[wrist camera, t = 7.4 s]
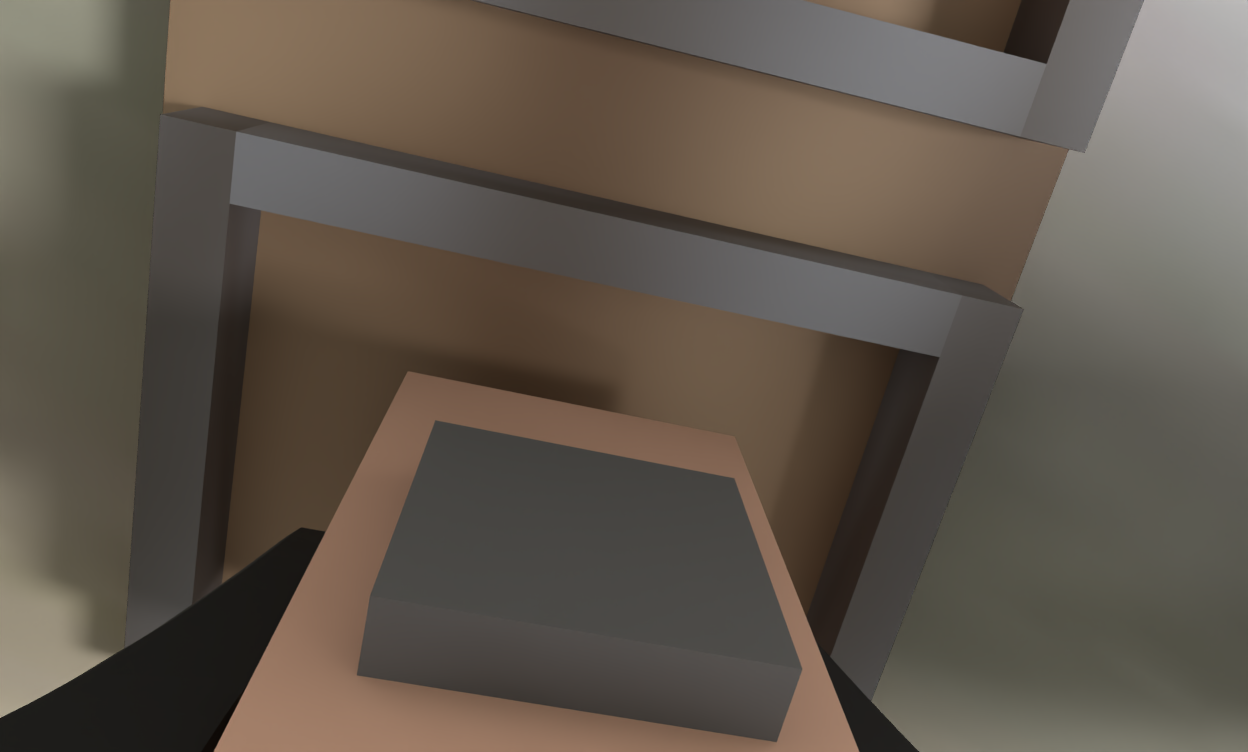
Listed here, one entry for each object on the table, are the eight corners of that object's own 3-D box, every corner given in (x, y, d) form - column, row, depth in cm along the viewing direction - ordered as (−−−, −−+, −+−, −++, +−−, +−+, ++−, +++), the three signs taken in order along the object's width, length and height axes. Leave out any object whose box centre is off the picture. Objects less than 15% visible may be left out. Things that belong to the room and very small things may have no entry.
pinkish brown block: (747, 391, 11) (990, 893, 5) (649, 723, 13) (725, 1446, 6) (415, 323, 11) (158, 773, 4) (356, 677, 12) (104, 1406, 6)
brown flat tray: (1348, -716, 10) (1865, -1218, 6) (801, 766, 16) (872, 1000, 12) (292, -1125, 8) (44, -2132, 5) (151, 665, 15) (-2, 891, 11)
